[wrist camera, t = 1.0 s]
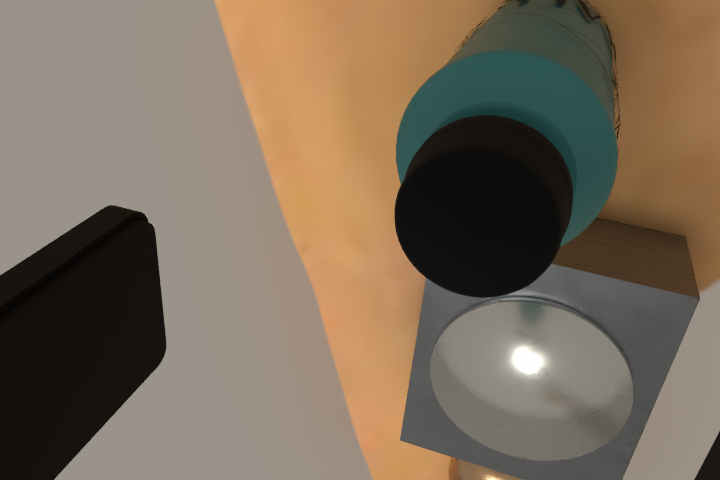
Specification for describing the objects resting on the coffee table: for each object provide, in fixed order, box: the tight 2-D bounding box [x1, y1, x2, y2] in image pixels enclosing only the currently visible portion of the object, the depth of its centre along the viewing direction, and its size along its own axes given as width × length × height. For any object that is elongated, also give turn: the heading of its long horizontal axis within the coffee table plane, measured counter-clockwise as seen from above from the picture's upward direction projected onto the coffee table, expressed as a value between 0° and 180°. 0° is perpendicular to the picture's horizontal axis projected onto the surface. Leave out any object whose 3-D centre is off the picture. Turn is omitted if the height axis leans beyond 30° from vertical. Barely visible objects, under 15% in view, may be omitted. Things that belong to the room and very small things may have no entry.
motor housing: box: [400, 218, 700, 480], centre depth 36 cm, size 18×12×6 cm, turn 176°
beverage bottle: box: [395, 0, 621, 298], centre depth 23 cm, size 6×7×20 cm
